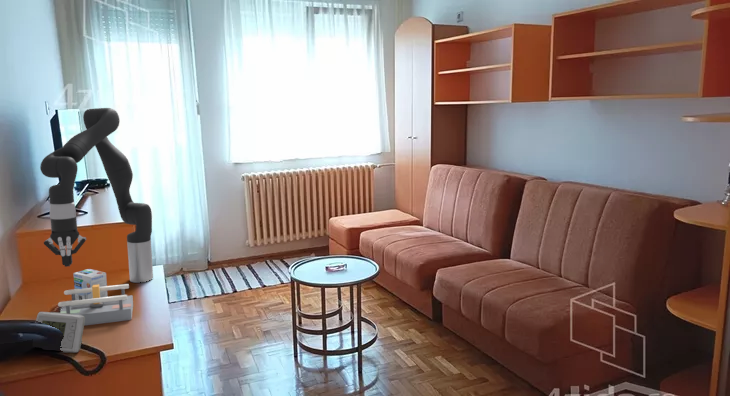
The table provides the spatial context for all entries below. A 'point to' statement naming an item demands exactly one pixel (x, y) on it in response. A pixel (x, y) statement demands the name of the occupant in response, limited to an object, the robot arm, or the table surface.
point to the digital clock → (65, 328)
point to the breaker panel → (109, 312)
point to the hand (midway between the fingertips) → (67, 265)
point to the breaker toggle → (96, 296)
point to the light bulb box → (89, 282)
